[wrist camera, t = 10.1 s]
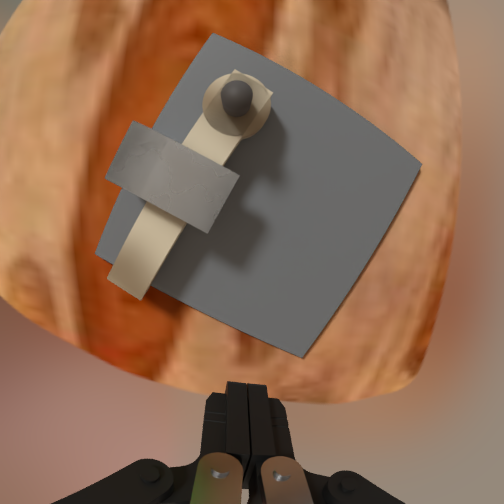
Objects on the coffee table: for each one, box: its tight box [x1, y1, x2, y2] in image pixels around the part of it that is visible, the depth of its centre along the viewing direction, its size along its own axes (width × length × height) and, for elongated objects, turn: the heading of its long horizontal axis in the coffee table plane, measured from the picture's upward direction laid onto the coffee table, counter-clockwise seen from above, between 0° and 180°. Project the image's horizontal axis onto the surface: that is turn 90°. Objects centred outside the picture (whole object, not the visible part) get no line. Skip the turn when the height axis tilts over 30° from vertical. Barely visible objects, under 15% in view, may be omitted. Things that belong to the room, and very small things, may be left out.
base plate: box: [95, 33, 422, 358], centre depth 24 cm, size 20×20×1 cm
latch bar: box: [107, 69, 273, 300], centre depth 19 cm, size 17×4×5 cm, turn 146°
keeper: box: [105, 121, 240, 234], centre depth 20 cm, size 4×8×4 cm, turn 60°
